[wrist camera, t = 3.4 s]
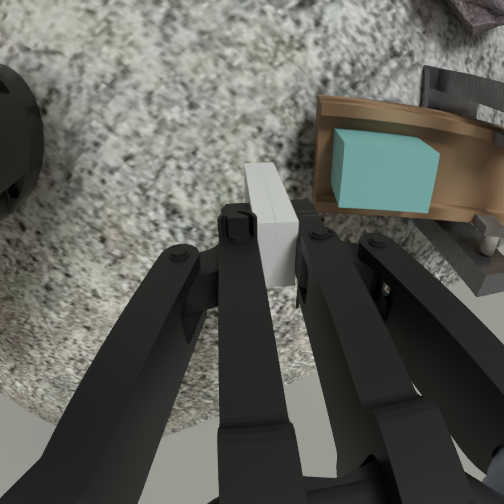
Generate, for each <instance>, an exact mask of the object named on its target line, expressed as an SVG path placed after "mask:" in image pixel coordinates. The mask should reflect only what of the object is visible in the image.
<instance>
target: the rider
mask: <svg viewBox="0 0 504 504" xmlns="http://www.w3.org/2000/svg"><path fill="white" fill-rule="evenodd" d="M439 157H440V153H438V152H437V151H436V150H434V149H433V148H432V147H430V146H429V145H427V144H426V143H425V142H423V141H422V140H420V139H419V138H418V137H415V136H408V135H401V134H393V133H385V132H376V131H366V130H356V129H344V128H334V142H333V157H332V171H331V186H332V189H333V192H334V195H335V198H336V201H337V204H338V207H342V208H360V209H376V210H391V211H405V212H418V213H428V211H429V206H430V202H431V198H432V193H433V188H434V183H435V178H436V173H437V168H438V162H439Z"/></svg>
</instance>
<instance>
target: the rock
mask: <svg viewBox="0 0 504 504" xmlns="http://www.w3.org/2000/svg"><path fill="white" fill-rule="evenodd" d="M446 2H447V4H448V5H449V7H450V8H451V9H452V11H453V12H454V14H455V15H456V17H457V18H458V19H459V21H460V23H461V24H462V25H463V27H464V28H465V29H466V30H468V31H469V32H470V33H471V34H472V35H473V36H474V35H476V34H479V33H481V32H483V31H484V30H489V29H492V28H495V27H498V26H502V25H504V0H446Z"/></svg>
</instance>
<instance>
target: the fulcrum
mask: <svg viewBox="0 0 504 504" xmlns="http://www.w3.org/2000/svg"><path fill="white" fill-rule="evenodd" d="M478 103H480V104H482V105H485V106H488V107H491V108H493V109H496V110H499V111H501V112H504V83H502V82H499V81H495V80H491V79H487V78H483V77H479V76H475V75H470V74H466V73H461V72H456V71H451V70H446V69H440V68H436V67H432V66H427V65H424V75H423V89H422V101H421V107H423V108H428V109H434V110H439V111H443V112H448V113H453V114H457V115H461V116H466V117H470V118H474V119H476V115H477V107H478ZM403 222H404V223H405V224H406V225H407V226H416V227H417V228H418V229H419V230H420V231H421V232H422V233H423V234H424V235H425V236H426V237H427V239H428V240H429V241H430V242H431V243H432V244H433V245H434V246H435V248H436V249H437V250H438V251H439V252H440V253H441V254H442V256H443V257H444V258H445V259H446V260H447V261H448V263H449V264H450V265H451V266H452V267H453V269H454V270H455V271H456V272H457V273H458V275H459V276H460V277H461V278H462V280H463V281H464V282H465V283H466V284H467V286H468V287H469V288H470V289H471V291H472V292H473V293H474V295H475V296H476V297H480V296H485V295H489V294H494V293H498V292H502V291H504V256H503V255H502V254H501V253H500V252H499V251H498V250H497V249H495V251H494V254H493V255H492V256H488V255H485V254H483V253H482V252H481V251H480V250H479V246H480V243H481V240H482V237H483V235H482V234H481V233H480V232H479V231H477V230H476V229H475V228H474V227H473V226H472V225H471V224H470V223H469V222H458V221H447V220H435V219H422V218H408V217H404V218H403Z"/></svg>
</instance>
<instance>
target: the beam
mask: <svg viewBox="0 0 504 504" xmlns="http://www.w3.org/2000/svg"><path fill="white" fill-rule="evenodd" d="M334 128H344V129H356V130H366V131H376V132H385V133H393V134H401V135H408V136H415V137H418V138H419V139H420V140H422V141H423V142H425V143H426V144H427V145H429V146H430V147H432V148H433V149H434V150H436V151H437V152H438V153H440V157H439V162H438V168H437V173H436V178H435V183H434V188H433V193H432V198H431V202H430V206H429V211H428V213H418V212H405V211H391V210H376V209H360V208H342V207H338V204H337V201H336V198H335V195H334V192H333V189H332V186H331V171H332V157H333V142H334ZM312 198H313V204H314V207H315V209H316V211H317V212H320V213H342V214H361V215H378V216H394V217H408V218H422V219H435V220H447V221H458V222H469V223H473V224H474V225H475V226H476V228H477V229H478V230H479V231H480V232H481V233H482V235H483V237H482V240H481V243H480V246H479V250H480V251H481V252H482V253H483V254H485V255H488V256H492V255H493V254H494V251H495V249H496V246H497V243H498V241H499V237H502V235H503V232H504V227H503V226H504V127H503V126H499V125H496V124H492V123H489V122H485V121H481V120H478V119H474V118H470V117H466V116H461V115H457V114H453V113H448V112H443V111H439V110H434V109H428V108H423V107H418V106H412V105H406V104H399V103H393V102H386V101H378V100H370V99H362V98H352V97H341V96H328V95H317V108H316V136H315V157H314V176H313V192H312Z"/></svg>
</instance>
